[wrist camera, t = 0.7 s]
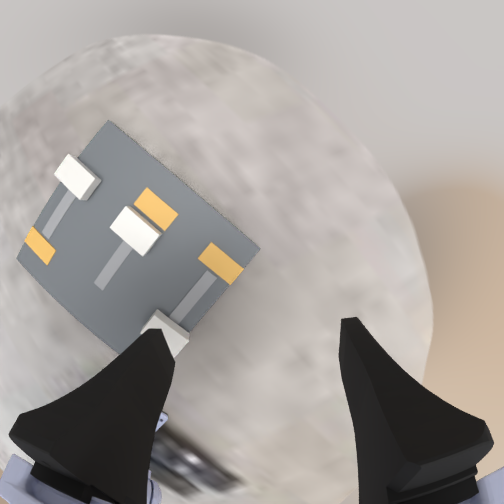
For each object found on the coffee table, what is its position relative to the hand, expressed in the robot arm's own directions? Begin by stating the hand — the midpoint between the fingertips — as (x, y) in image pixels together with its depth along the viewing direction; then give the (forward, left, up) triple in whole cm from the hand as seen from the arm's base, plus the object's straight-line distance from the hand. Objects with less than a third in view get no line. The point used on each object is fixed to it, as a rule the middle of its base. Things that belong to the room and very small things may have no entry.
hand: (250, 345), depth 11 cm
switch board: (-5, +8, -18) cm, 21 cm away
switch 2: (-2, +8, -17) cm, 19 cm away
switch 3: (-8, 0, -17) cm, 19 cm away
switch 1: (-2, +16, -17) cm, 23 cm away
